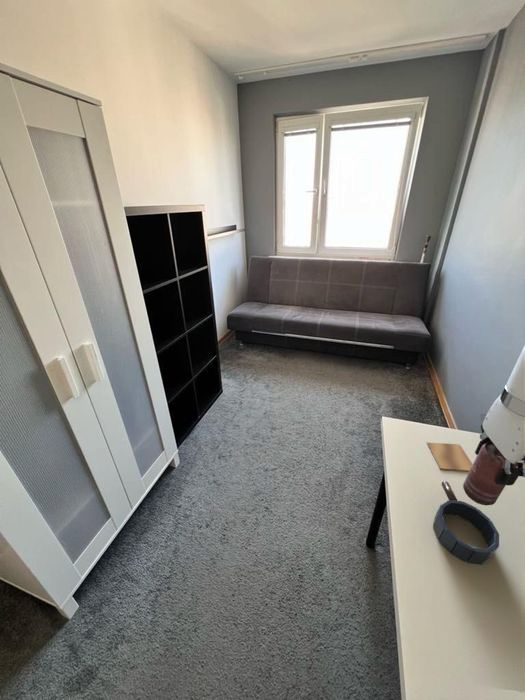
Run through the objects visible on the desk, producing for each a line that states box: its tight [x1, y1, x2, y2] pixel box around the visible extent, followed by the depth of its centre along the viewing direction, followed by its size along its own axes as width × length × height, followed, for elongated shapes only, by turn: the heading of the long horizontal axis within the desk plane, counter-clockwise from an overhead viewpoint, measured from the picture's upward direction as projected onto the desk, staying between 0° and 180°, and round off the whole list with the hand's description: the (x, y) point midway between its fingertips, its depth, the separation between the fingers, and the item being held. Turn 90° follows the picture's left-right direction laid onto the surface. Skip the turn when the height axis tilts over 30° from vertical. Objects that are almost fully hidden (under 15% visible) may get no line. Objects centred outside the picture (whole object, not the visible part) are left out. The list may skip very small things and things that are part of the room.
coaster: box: [426, 441, 473, 472], centre depth 87 cm, size 10×10×1 cm
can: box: [462, 441, 518, 506], centre depth 59 cm, size 6×6×14 cm
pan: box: [432, 480, 500, 565], centre depth 68 cm, size 12×18×5 cm, turn 173°
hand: (492, 467), depth 59 cm, fingers closed on can, 6 cm apart
